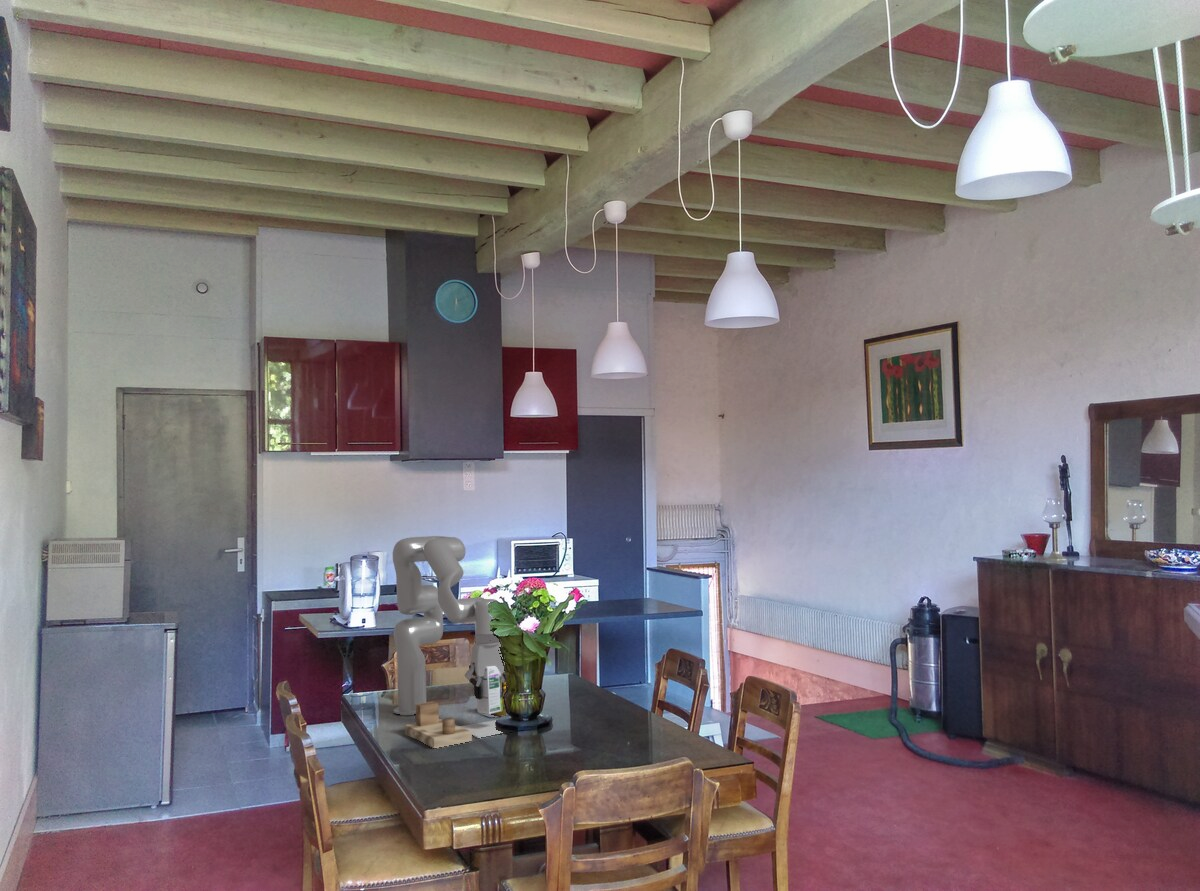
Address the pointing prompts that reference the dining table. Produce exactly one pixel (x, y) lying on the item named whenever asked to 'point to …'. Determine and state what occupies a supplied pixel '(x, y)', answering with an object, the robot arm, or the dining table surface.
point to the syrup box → (490, 692)
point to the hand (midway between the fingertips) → (489, 696)
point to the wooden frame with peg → (436, 727)
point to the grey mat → (482, 729)
